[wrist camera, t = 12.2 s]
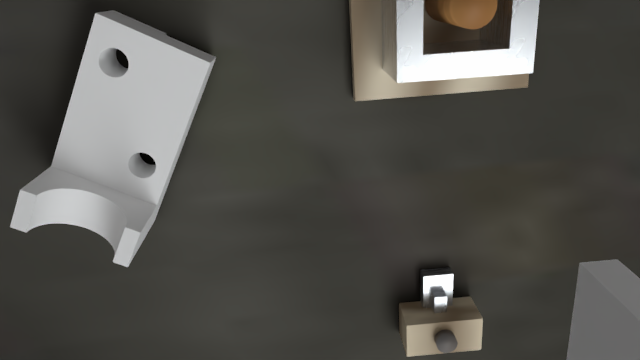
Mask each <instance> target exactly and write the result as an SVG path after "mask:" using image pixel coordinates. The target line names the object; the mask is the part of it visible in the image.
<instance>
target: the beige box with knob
mask: <svg viewBox="0 0 640 360" xmlns="http://www.w3.org/2000/svg"><path fill="white" fill-rule="evenodd" d="M482 326H483V318H482V316H481V314H480V313H479V311H478V309H477V307H476V306H475V304H474V302H473V300H472V299H471V297H459V298H453V303H452V306H447V312H444V313H434V311H433V309H432V307H431V308H423V306H422V304H421V301H415V302H404V303H399V333H400V336H401V340H402V343H403V346H404V349H405V352H406V356H407V357H409V356H419V355H430V354H440V353H451V352H462V351H472V350H481V343H482Z"/></svg>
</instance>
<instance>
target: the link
mask: <svg viewBox="0 0 640 360" xmlns="http://www.w3.org/2000/svg"><path fill="white" fill-rule="evenodd" d="M423 10H424V0H381V16H382V69H383V70H384V71H385V72H386V73H387V74H388V75H389V76H390V77H391V78H392V79H393V80H394V81H395V82H396V83H405V82H418V81H432V80H445V79H459V78H472V77H486V76H500V75H513V74H527V73H533V66H534V55H535V44H536V33H537V22H538V11H539V0H497V10H496V13H495V15H494V17H493V18H492V20H491V21H490V22H489V23H488V24H487V25H485V26H483V27H481V28H480V32H479V40H465V41H452V42H438V43H424V44H423Z"/></svg>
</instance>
